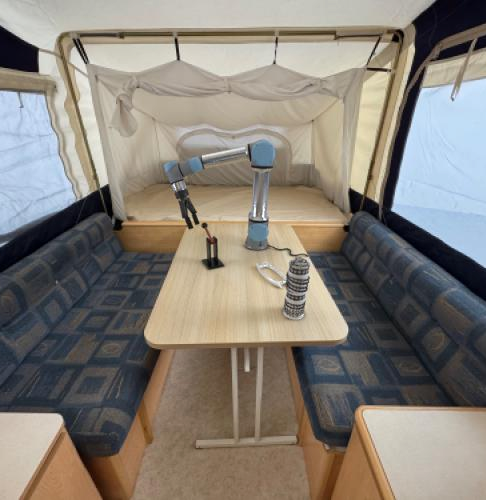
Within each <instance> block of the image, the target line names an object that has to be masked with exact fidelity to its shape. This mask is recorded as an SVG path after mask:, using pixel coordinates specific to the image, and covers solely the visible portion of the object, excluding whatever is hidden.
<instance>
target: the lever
mask: <svg viewBox="0 0 486 500" xmlns="http://www.w3.org/2000/svg"><path fill="white" fill-rule="evenodd" d="M200 226H201V228H202V229H204V230H205V232H206V235H207V237H208V238H209V239H210V240H211V246H213V244H214V243H215V240H214V238H213V237H212V235H211V234H210V231H209V230H208V229H209V228H208V227H209V226H208V223H207V222H205V221H203V222H201V225H200Z"/></svg>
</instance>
